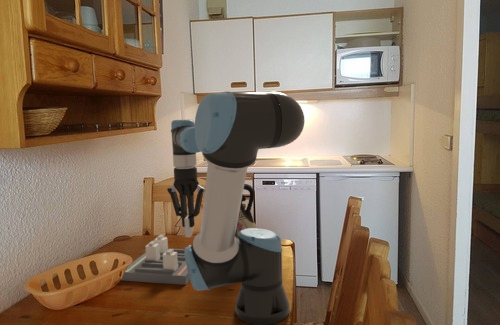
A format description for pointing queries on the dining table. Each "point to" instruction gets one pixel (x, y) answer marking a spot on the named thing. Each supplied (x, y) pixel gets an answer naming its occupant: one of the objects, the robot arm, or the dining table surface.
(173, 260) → the block
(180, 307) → the dining table surface
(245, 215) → the ceramic jug
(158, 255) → the handle
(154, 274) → the tray
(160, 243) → the far breaker handle
